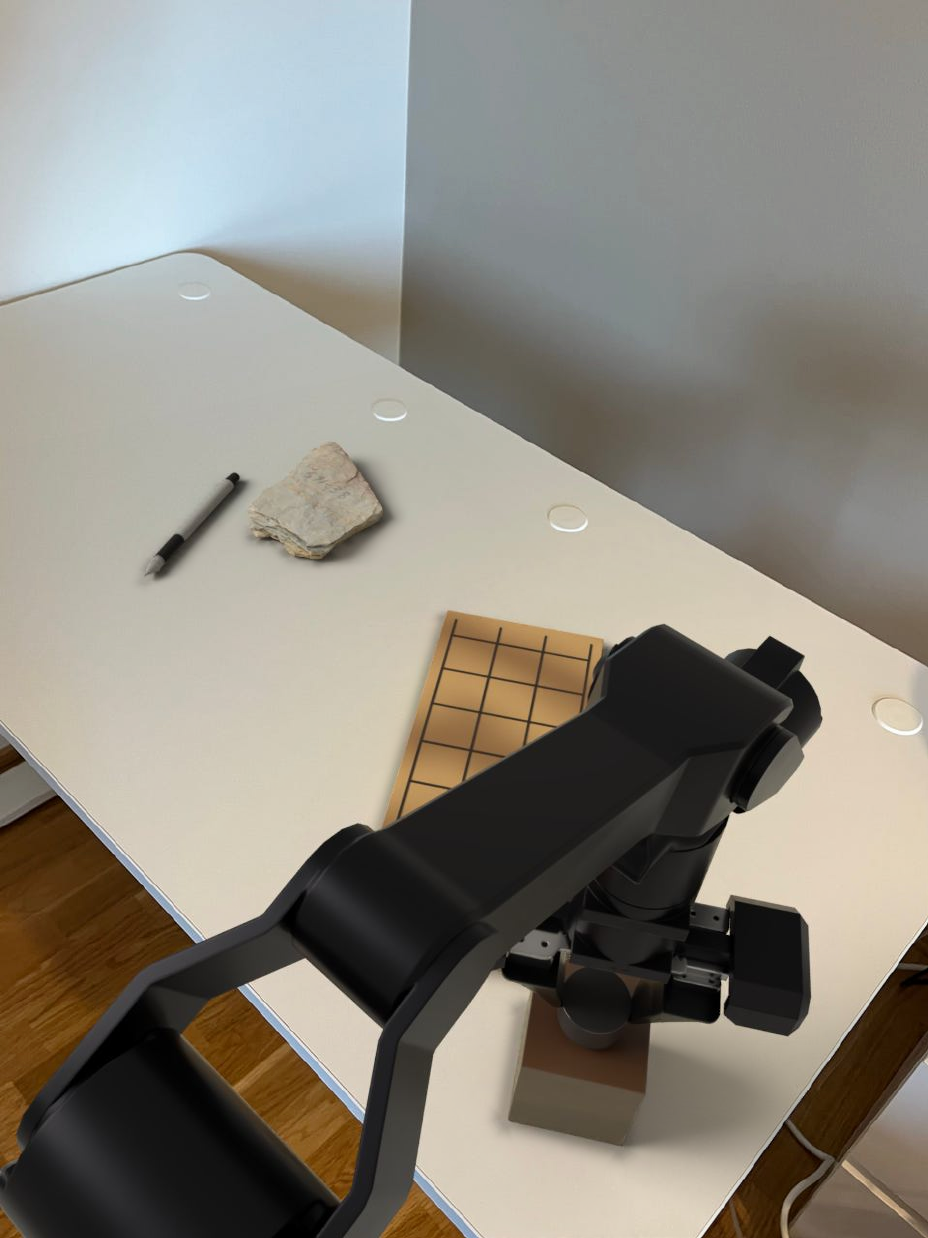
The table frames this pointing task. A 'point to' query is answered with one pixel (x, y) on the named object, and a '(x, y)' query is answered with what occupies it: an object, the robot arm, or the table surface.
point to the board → (489, 701)
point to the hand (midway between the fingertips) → (594, 1007)
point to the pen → (192, 524)
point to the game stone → (594, 1008)
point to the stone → (316, 504)
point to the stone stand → (578, 1076)
